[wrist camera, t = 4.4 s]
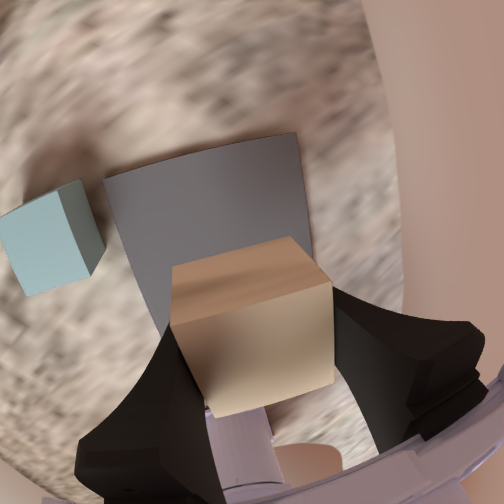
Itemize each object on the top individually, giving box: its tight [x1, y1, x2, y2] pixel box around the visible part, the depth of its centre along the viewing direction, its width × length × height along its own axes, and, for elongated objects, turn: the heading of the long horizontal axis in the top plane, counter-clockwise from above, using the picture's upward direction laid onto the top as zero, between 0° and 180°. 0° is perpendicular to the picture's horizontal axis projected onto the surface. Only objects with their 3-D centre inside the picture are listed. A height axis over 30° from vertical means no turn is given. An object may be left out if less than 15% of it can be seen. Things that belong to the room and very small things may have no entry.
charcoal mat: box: [102, 133, 313, 338], centre depth 19 cm, size 12×12×1 cm
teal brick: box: [0, 178, 106, 297], centre depth 15 cm, size 5×5×4 cm
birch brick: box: [170, 236, 334, 418], centre depth 11 cm, size 5×5×4 cm
